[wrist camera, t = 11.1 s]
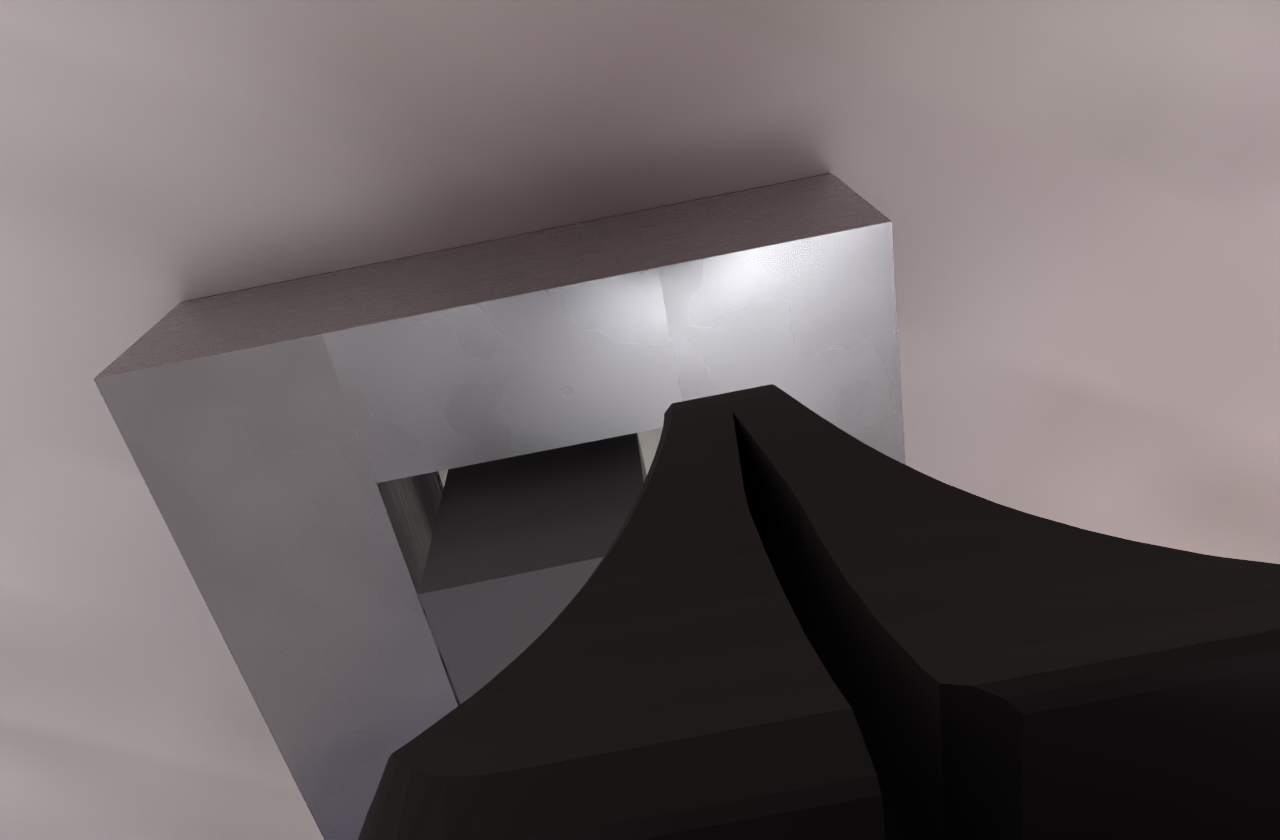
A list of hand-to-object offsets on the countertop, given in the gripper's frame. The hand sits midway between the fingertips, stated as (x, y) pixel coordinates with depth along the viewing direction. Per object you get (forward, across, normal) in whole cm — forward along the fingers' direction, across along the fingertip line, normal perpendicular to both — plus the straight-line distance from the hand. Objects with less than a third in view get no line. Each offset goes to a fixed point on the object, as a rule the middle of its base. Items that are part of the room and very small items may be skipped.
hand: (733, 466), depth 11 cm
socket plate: (+10, +3, +6) cm, 12 cm away
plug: (+8, +3, +6) cm, 11 cm away
